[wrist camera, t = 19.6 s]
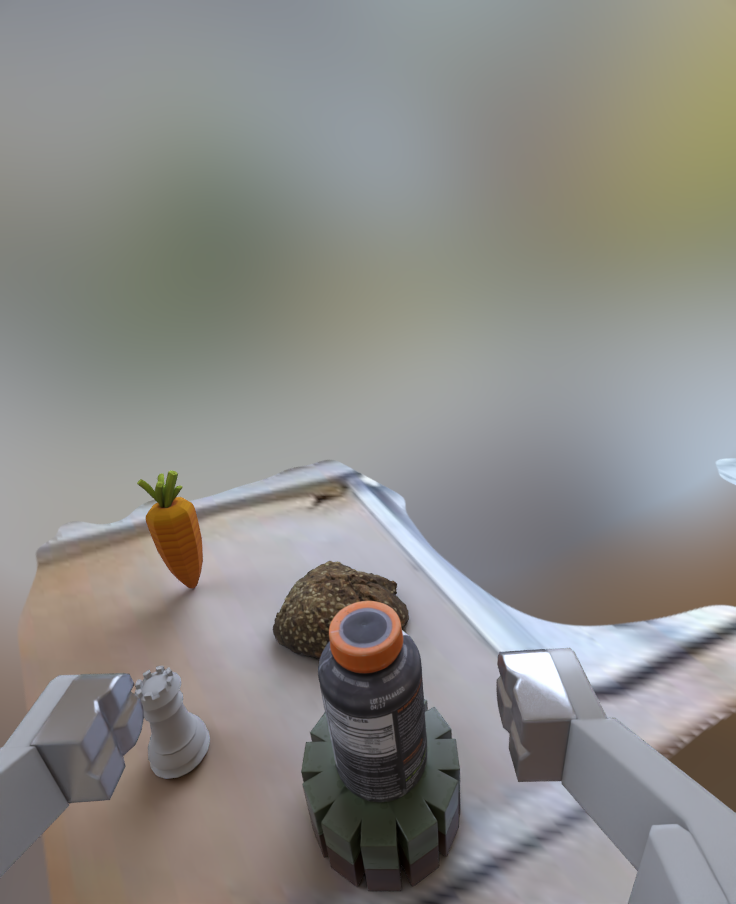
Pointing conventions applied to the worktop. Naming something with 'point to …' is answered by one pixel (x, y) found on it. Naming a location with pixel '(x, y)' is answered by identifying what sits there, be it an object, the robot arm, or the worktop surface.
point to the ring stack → (384, 813)
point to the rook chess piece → (170, 725)
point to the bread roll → (328, 604)
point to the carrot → (175, 530)
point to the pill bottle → (374, 702)
